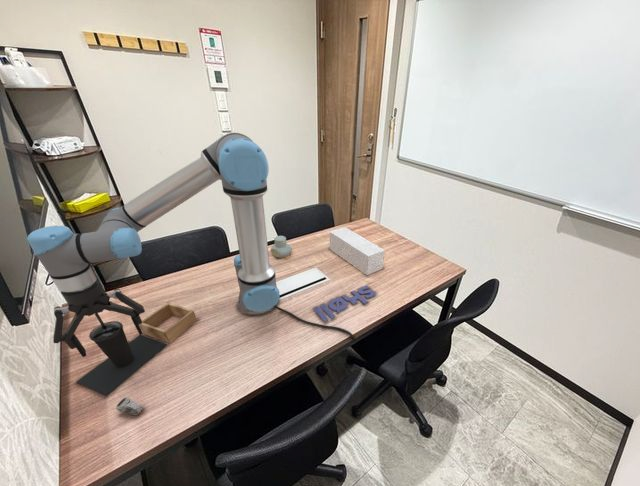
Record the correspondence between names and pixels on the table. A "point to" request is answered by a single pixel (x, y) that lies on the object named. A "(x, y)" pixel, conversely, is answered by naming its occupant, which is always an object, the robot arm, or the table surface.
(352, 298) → the signage
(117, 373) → the mat
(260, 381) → the table surface
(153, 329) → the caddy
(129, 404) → the grey stone
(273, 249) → the air freshener
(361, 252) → the white rectangular block
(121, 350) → the drinking cup
